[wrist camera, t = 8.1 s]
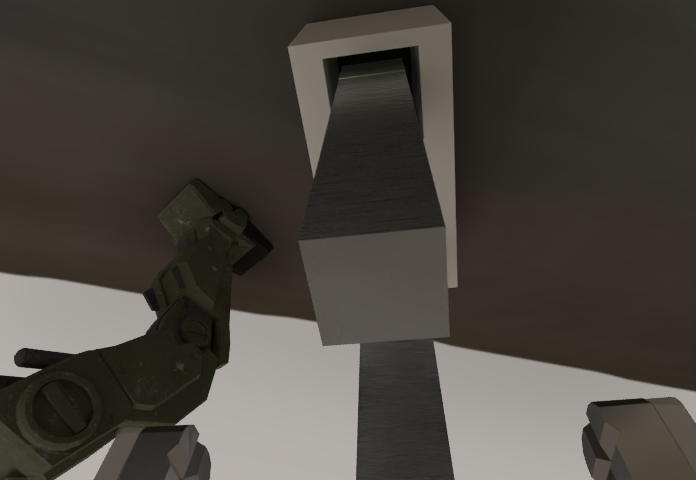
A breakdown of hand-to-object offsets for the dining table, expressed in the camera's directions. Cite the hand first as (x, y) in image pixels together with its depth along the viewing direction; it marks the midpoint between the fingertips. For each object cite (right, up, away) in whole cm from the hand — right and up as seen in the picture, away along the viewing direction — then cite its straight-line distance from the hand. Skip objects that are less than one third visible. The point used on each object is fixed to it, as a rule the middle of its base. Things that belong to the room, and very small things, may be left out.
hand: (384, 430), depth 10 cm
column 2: (+3, +4, +29) cm, 29 cm away
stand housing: (+2, +13, +32) cm, 35 cm away
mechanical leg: (-15, +6, +38) cm, 41 cm away
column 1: (+1, +14, +23) cm, 27 cm away
